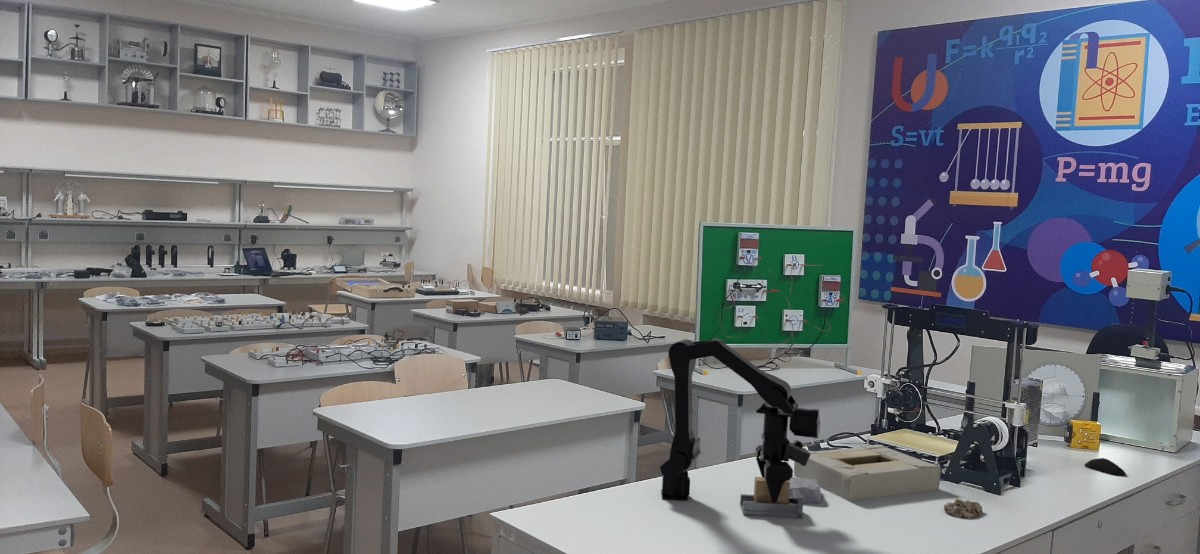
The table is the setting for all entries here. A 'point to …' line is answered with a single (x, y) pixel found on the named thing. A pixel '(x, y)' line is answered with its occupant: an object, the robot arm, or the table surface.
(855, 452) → the box
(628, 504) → the table surface
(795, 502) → the floor track
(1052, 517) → the table surface
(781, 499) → the brown wooden block
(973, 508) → the mineral rock
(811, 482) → the stone block
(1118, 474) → the black teardrop lump
